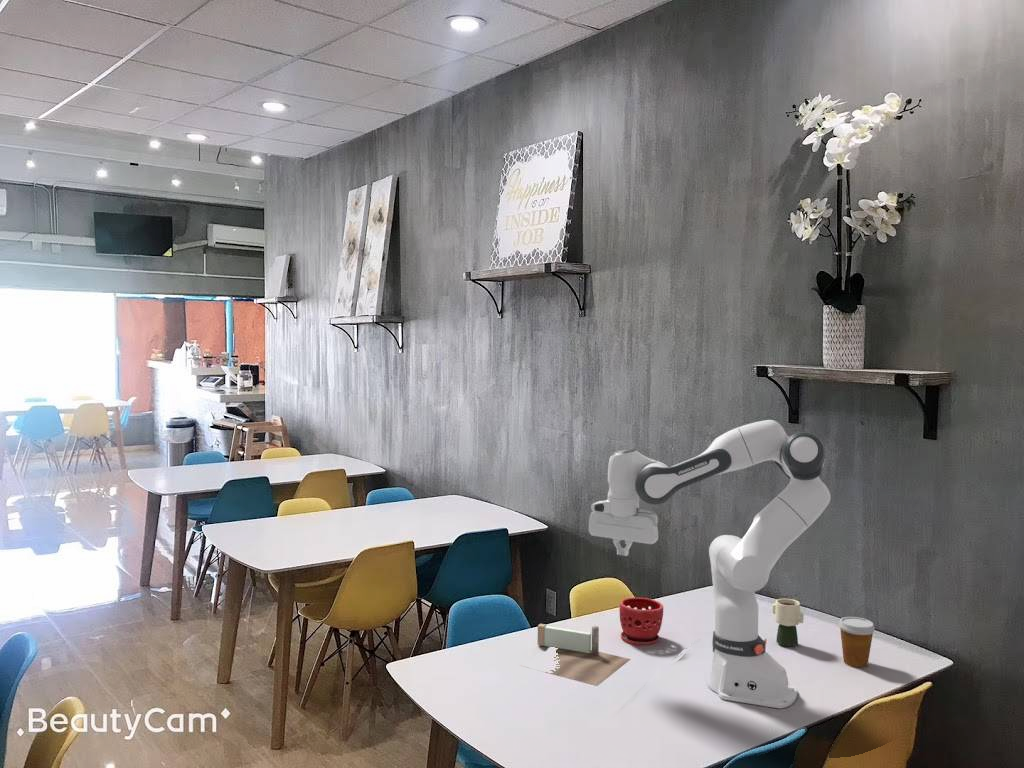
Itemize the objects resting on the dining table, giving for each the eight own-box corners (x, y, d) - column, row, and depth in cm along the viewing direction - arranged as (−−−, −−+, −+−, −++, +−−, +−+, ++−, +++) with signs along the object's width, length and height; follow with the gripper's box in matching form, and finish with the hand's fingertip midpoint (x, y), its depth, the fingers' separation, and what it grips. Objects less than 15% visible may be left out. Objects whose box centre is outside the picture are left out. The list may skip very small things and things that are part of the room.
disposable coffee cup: (835, 666, 226) (836, 624, 226) (839, 654, 235) (840, 614, 234) (872, 672, 222) (873, 630, 221) (875, 660, 230) (876, 619, 230)
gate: (589, 653, 231) (589, 633, 231) (537, 644, 238) (537, 625, 238) (591, 651, 233) (591, 631, 233) (540, 642, 240) (540, 623, 239)
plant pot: (650, 653, 235) (650, 613, 235) (611, 643, 243) (611, 604, 243) (670, 640, 246) (670, 601, 245) (632, 630, 254) (632, 593, 253)
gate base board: (630, 662, 229) (630, 631, 228) (597, 689, 211) (597, 655, 210) (557, 645, 242) (557, 615, 241) (519, 669, 224) (520, 637, 223)
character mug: (810, 647, 240) (811, 604, 239) (794, 652, 236) (795, 609, 235) (779, 636, 249) (780, 595, 248) (764, 641, 245) (765, 599, 244)
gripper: (662, 508, 223) (661, 557, 224) (596, 500, 234) (595, 547, 235) (653, 512, 218) (652, 563, 218) (586, 504, 229) (585, 552, 229)
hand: (622, 555), depth 227 cm, fingers closed
